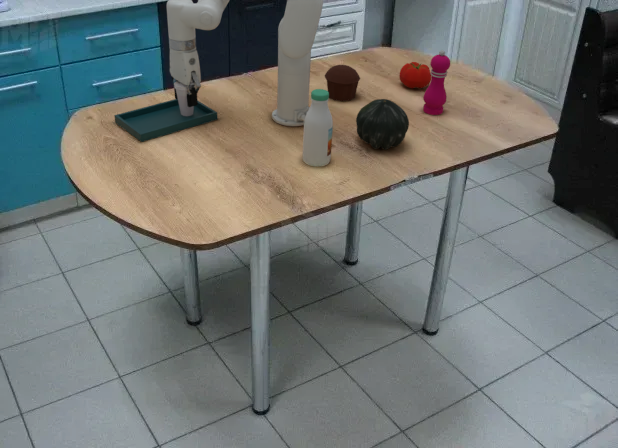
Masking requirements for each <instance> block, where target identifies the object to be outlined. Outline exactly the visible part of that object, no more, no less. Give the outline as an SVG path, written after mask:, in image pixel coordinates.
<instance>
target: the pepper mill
mask: <svg viewBox="0 0 618 448" xmlns="http://www.w3.org/2000/svg"><path fill="white" fill-rule="evenodd" d="M450 67H451V59H450V57H449V56H447V55H446V52H445V50H443V49H441V50H439V52H438V54H436V55H434V56H433V57H432V58H431V60H430V68H431V69H430V72H431V81H430V83H429V84H428V86H427V87H426V89H425V92H424V93H423V98H422V100H423V102H424V104H423V109H422V110H423V113H425V114H427V115H430V116H439V115H442V114H443V112H444V108H445V107H444V105H445V104H446V103H447V91H446V88H445V79H446V78H447V76H448V70H449V69H450Z"/></svg>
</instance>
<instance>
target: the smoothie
mask: <svg viewBox="0 0 618 448" xmlns="http://www.w3.org/2000/svg"><path fill="white" fill-rule="evenodd" d="M190 83H193V82H192V81H190ZM174 88H175V89H176V93H177V97H178V102H179V107H180V112H181V115H183V116H191V115H193V110H194V106H192V107H188V106H187V94H188V91H187V87H186V85H185V84H183V83H181V82H180V81H176V82H175V83H174V85H173V89H174ZM192 88H193V85H191V86H190V89H192Z"/></svg>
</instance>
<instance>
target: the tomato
mask: <svg viewBox="0 0 618 448" xmlns="http://www.w3.org/2000/svg"><path fill="white" fill-rule="evenodd" d="M431 79H432V75H431V69H430V67H429V65H428V64H427V65H426V64H425V63H419V62H417V61H411V62H409V63H408V62H407V63H405V64H404V65H403V66H402V67H401V68H400V71H399V81H400V83H402V84H403V85H404V86H405V87H407V88H409V89H415V88H416V89H423V88H427V87H428V86H429V85H430V83H431Z"/></svg>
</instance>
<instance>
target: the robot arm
mask: <svg viewBox="0 0 618 448" xmlns="http://www.w3.org/2000/svg"><path fill="white" fill-rule="evenodd" d="M230 1H231V0H197V2H196V3H194V2H193V0H167V2H166V18H167V19H166V20H167V30H168V44H169V45H168V46H169V69H168V71H169V74H170V76H171V79H172V85H173V86H174V83H175V82H176V81H180V82H181V83H183V84H185V85H186V87H187V91H188V94H187V106H188V107H192V106H196V105H197V104H198V101H199V100H198V93H199V90H200V89H201V87H202V84H201V81H202V76H201V65H200V59H199V58H200V57H199V53H198V50H197V39H196V37H197V36H196V29H197V30H202V31H212V30H215V29H216V28H217V27H218V26H219V25H220V23H221V20H222V16H223V12H224V11H225V9H226V8H227V5H228V4H229V2H230ZM323 6H324V0H286V5H285V9H284V10H285V11H284V15H283V17H282V18H281V20H280V22H279V24H278V29H277V40H278V42H277V46H278V47H277V94H276V95H277V96H276V99H277V100H276V108H275V109H274V110H273V111H272V112H271V118H272V121H274V122H275V123H277V124H279V125H282V126H287V127H300V126H301V127H302V126H304V121H305V117H306V114H307V112H308V110H309V108H310V105H309V103H310V82H311V79H310V78H311V63H312V62H311V61H312V48H313V45H314V43H315V40H316V39H315V38H316V35H317V32H318V28H319V23H320V20H321V17H322V16H321V15H322V12H323ZM190 81H192V82H193V83H190ZM191 85H193V88H192V89H190V86H191ZM173 89H174V90H173V91H174V92H173V93H174V99H178V97H177V93H176V89H175V88H174V87H173ZM197 100H198V101H197Z"/></svg>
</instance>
